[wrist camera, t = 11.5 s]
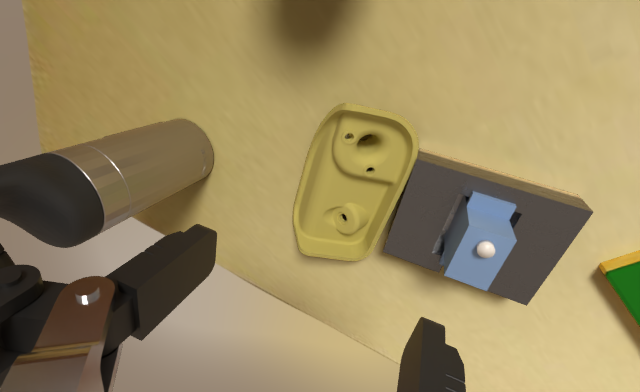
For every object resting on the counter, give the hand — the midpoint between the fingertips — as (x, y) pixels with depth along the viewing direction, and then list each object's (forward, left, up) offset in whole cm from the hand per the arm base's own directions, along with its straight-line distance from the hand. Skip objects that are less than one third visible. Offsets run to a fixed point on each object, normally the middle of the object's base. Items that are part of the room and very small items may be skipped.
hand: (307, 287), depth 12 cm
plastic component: (-3, -7, -28) cm, 29 cm away
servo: (+11, -8, -27) cm, 30 cm away
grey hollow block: (+11, -8, -28) cm, 31 cm away
